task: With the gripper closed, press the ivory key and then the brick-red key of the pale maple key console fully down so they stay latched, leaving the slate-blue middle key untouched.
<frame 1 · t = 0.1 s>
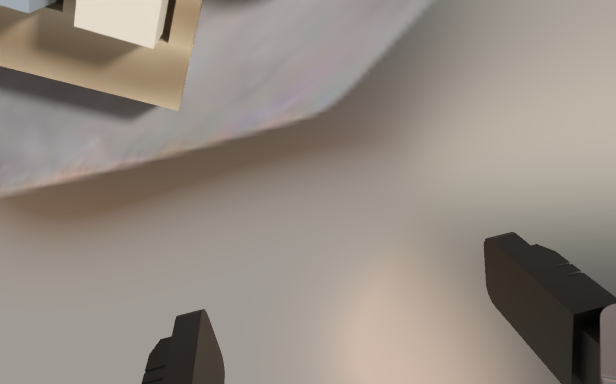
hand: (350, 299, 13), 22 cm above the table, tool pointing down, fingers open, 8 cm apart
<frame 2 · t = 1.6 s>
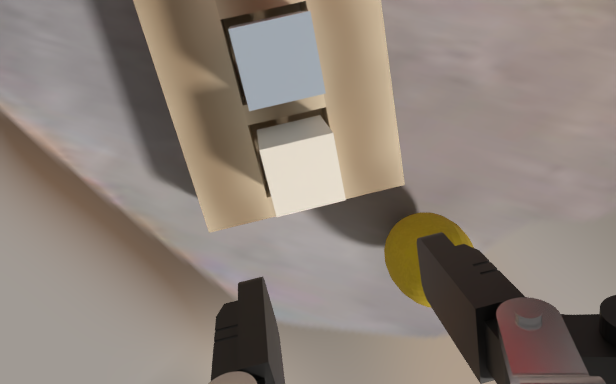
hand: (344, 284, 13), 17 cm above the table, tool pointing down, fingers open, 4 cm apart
console: (269, 48, 27), on the table
lemon: (407, 229, 33), on the table
ivory key: (299, 163, 24), point 6 cm above the table, slide at 0.0 cm
blue key: (275, 58, 22), point 6 cm above the table, slide at 0.0 cm
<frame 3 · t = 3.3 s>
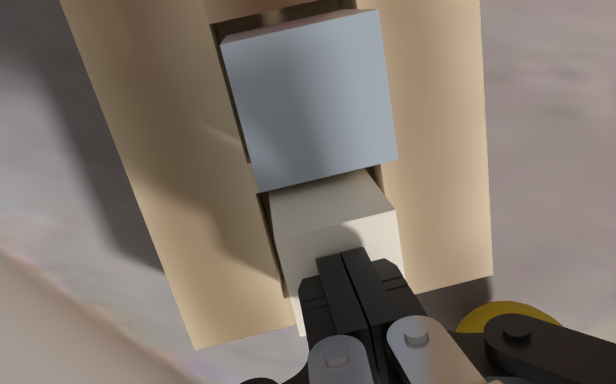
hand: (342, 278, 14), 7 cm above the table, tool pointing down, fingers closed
console: (287, 67, 18), on the table
lemon: (475, 313, 24), on the table
ivory key: (333, 244, 16), point 5 cm above the table, slide at 1.0 cm, touching gripper
blue key: (305, 92, 13), point 6 cm above the table, slide at 0.0 cm
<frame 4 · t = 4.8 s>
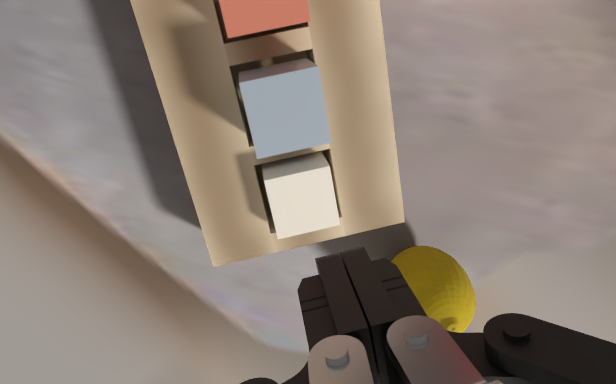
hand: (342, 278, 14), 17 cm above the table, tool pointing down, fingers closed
console: (274, 87, 28), on the table
lemon: (405, 259, 34), on the table
ivory key: (298, 190, 27), point 4 cm above the table, slide at 2.1 cm
blue key: (283, 105, 23), point 6 cm above the table, slide at 0.0 cm
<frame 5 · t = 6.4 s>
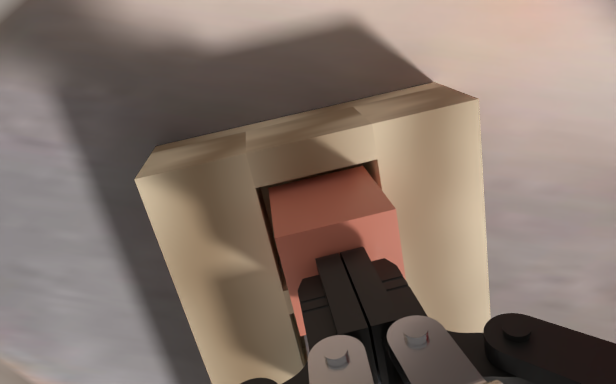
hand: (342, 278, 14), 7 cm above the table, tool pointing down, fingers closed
console: (334, 289, 23), on the table
red key: (334, 244, 16), point 5 cm above the table, slide at 0.6 cm, touching gripper
blue key: (362, 375, 17), point 6 cm above the table, slide at 0.0 cm
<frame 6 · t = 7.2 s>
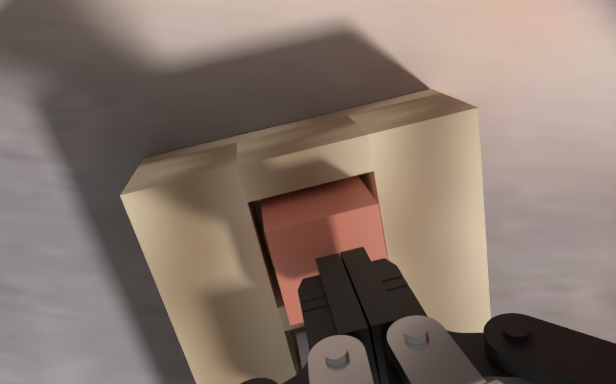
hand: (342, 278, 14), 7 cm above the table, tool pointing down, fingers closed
console: (330, 301, 22), on the table
red key: (321, 238, 16), point 4 cm above the table, slide at 2.1 cm
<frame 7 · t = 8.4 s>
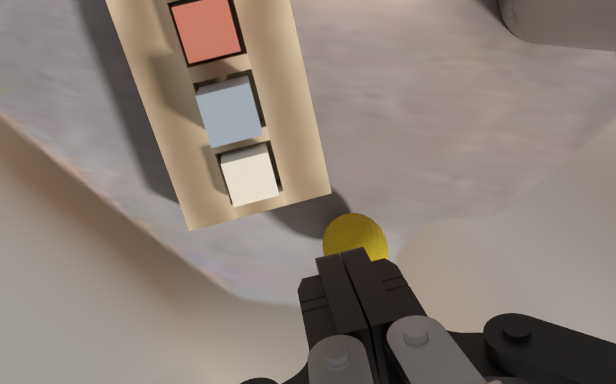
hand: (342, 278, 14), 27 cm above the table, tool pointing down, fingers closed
console: (230, 96, 37), on the table
red key: (208, 28, 32), point 4 cm above the table, slide at 2.1 cm
lemon: (344, 226, 44), on the table
ivory key: (249, 171, 36), point 4 cm above the table, slide at 2.1 cm
blue key: (230, 110, 32), point 6 cm above the table, slide at 0.0 cm
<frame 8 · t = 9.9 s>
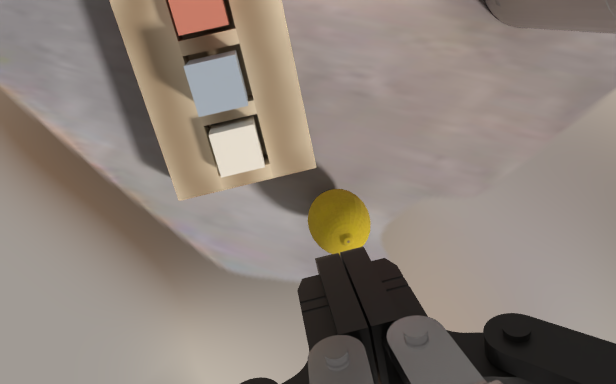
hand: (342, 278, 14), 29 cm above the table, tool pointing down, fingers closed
console: (221, 72, 39), on the table
red key: (198, 3, 33), point 4 cm above the table, slide at 2.1 cm
lemon: (330, 203, 45), on the table
ivory key: (237, 144, 38), point 4 cm above the table, slide at 2.1 cm
blue key: (218, 82, 34), point 6 cm above the table, slide at 0.0 cm
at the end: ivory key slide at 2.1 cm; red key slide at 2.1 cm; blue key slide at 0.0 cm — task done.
